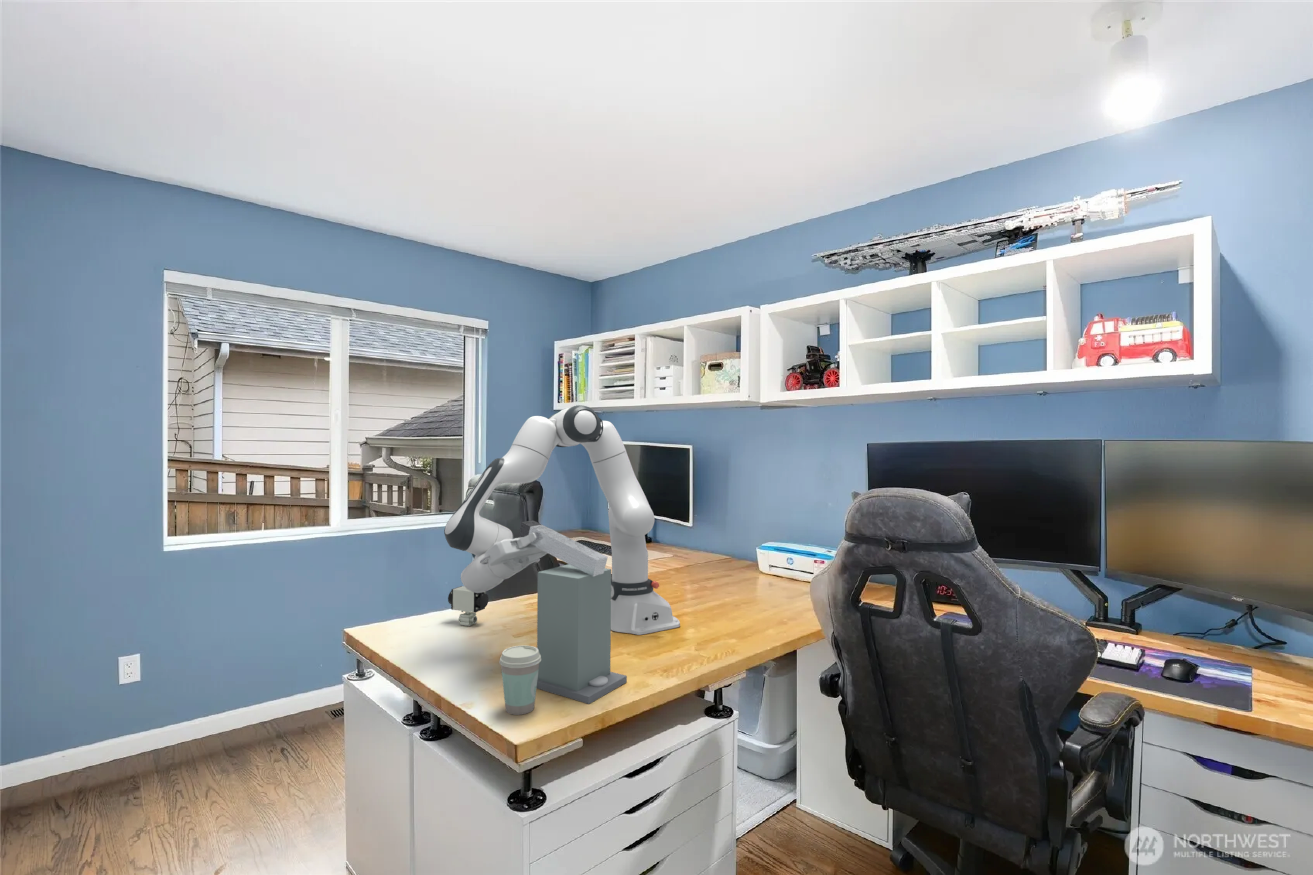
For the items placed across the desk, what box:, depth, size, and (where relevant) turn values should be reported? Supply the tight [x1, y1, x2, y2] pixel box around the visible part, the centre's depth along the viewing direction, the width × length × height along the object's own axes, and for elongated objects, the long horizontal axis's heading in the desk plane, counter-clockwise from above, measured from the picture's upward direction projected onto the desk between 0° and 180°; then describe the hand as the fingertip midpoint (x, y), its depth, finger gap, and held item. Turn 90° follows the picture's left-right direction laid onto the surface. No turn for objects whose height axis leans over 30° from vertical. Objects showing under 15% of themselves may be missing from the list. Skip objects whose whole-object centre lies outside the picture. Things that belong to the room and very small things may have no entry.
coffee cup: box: [498, 644, 541, 716], centre depth 126 cm, size 8×8×12 cm
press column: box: [536, 563, 628, 705], centre depth 139 cm, size 16×14×26 cm
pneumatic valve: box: [447, 585, 489, 627], centre depth 184 cm, size 6×12×12 cm, turn 70°
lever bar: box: [517, 519, 608, 576], centre depth 142 cm, size 24×4×4 cm, turn 58°
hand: (544, 533), depth 145 cm, fingers closed on lever bar, 4 cm apart
